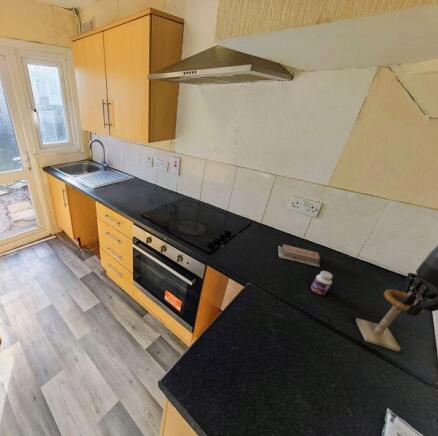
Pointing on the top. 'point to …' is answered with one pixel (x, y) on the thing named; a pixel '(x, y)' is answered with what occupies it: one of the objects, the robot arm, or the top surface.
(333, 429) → the top surface
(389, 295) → the ring
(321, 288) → the pill bottle
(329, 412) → the top surface
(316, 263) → the packaged product
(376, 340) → the wooden peg stand
